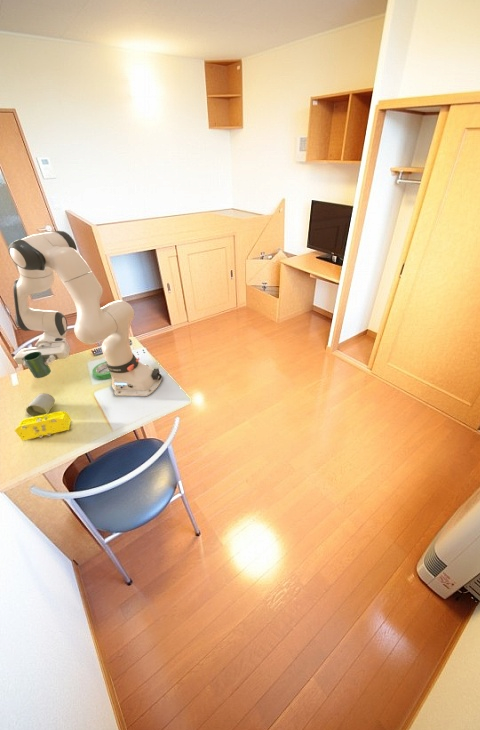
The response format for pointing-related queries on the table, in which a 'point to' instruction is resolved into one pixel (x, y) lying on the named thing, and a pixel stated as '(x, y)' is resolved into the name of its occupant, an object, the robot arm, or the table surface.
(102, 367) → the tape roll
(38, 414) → the ceramic mug
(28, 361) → the green cup
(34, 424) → the yellow toy chassis
